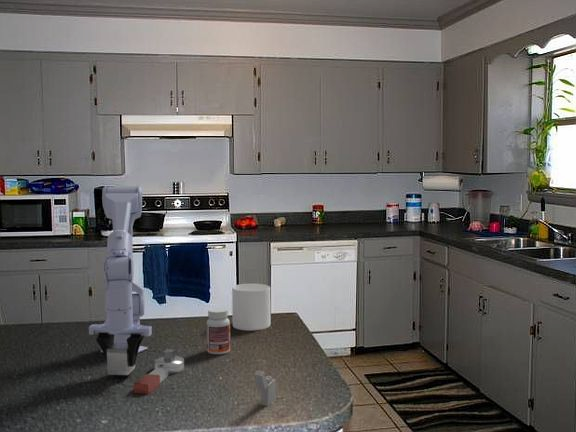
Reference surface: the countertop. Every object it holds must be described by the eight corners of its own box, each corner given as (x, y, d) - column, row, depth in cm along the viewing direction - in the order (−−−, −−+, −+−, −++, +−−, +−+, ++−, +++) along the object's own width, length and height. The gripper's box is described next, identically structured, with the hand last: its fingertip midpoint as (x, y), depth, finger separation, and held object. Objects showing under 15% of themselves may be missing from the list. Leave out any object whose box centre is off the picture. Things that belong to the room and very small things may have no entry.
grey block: (107, 374, 137) (106, 349, 136) (115, 367, 141) (115, 342, 141) (127, 375, 136) (126, 349, 136) (135, 367, 141) (134, 343, 140)
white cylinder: (228, 329, 178) (227, 290, 177) (237, 319, 190) (237, 282, 189) (266, 331, 176) (266, 291, 175) (273, 321, 188) (273, 284, 187)
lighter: (268, 397, 126) (268, 361, 126) (276, 398, 126) (276, 362, 125) (254, 410, 120) (253, 372, 119) (261, 411, 119) (261, 373, 118)
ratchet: (162, 363, 148) (161, 345, 147) (188, 365, 146) (188, 347, 146) (126, 392, 129) (125, 371, 129) (156, 394, 128) (155, 373, 127)
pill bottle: (234, 352, 157) (233, 310, 156) (213, 356, 153) (212, 313, 152) (223, 346, 162) (223, 305, 161) (203, 350, 158) (202, 308, 157)
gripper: (82, 311, 134) (84, 369, 136) (143, 313, 133) (145, 372, 134) (95, 303, 141) (97, 359, 143) (154, 305, 140) (155, 361, 141)
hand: (121, 364), depth 139 cm, fingers closed on grey block, 5 cm apart
